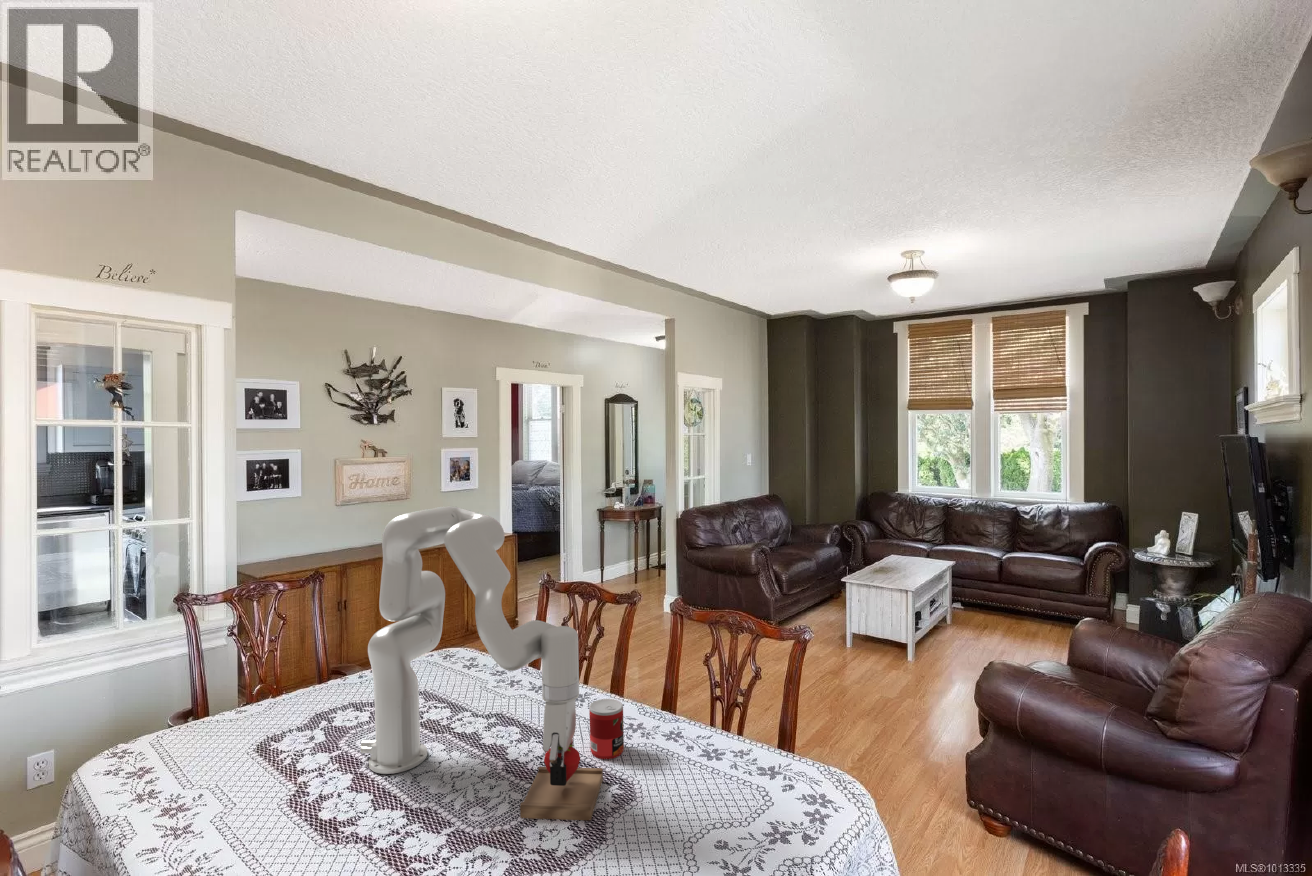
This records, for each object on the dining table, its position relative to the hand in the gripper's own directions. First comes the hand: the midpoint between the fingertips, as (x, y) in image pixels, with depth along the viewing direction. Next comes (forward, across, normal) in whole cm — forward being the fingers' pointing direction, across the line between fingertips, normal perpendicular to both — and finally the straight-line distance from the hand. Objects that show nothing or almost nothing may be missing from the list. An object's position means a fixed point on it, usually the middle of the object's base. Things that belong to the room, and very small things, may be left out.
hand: (562, 774), depth 131 cm
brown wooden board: (+5, 0, 0) cm, 5 cm away
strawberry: (+2, 0, 0) cm, 2 cm away
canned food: (+5, -19, +6) cm, 21 cm away
